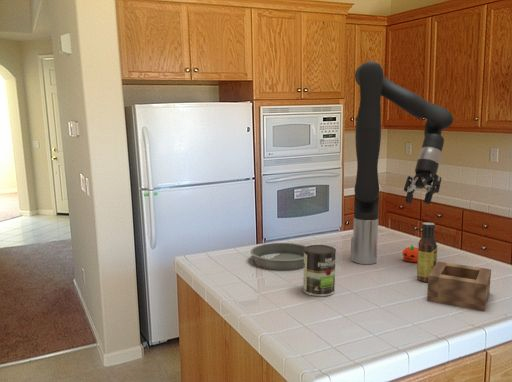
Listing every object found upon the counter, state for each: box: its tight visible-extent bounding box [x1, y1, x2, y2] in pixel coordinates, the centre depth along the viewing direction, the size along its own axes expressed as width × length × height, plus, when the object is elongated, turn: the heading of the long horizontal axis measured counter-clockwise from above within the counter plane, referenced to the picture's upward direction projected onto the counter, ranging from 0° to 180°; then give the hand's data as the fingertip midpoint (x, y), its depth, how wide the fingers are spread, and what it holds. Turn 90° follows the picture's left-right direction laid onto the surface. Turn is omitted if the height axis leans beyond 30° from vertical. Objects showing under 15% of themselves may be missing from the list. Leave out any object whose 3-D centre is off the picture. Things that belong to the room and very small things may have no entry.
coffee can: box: [302, 244, 337, 297], centre depth 152 cm, size 10×10×14 cm
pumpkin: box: [401, 244, 418, 263], centre depth 184 cm, size 7×8×6 cm
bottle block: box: [426, 261, 492, 312], centre depth 147 cm, size 16×16×8 cm
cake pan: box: [250, 242, 307, 271], centre depth 184 cm, size 25×25×4 cm
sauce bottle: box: [416, 222, 438, 283], centre depth 161 cm, size 7×6×20 cm
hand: (417, 203), depth 169 cm, fingers open, 8 cm apart
